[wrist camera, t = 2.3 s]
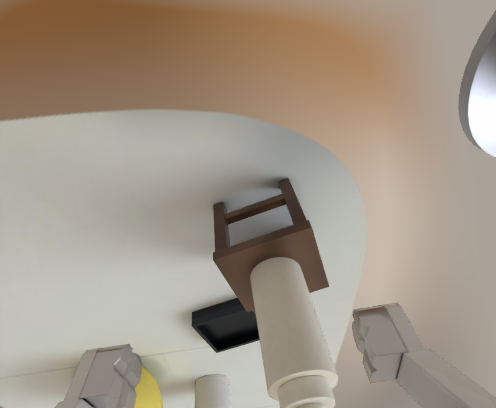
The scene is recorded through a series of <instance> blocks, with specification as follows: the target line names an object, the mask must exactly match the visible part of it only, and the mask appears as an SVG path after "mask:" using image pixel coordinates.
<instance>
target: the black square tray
mask: <svg viewBox="0 0 496 408" xmlns="http://www.w3.org/2000/svg"><path fill="white" fill-rule="evenodd" d="M192 327H193V328H194V329H195V330H196V331H197V332H198V333H199V335H200V336H201V337H202V338H203V339H204V340H205V341H206V342H207V343H208V344H209V345H210V346H211V347H212V349H213V350H214V351H215V352H216V353H218V352H221V351H225V350H228V349H231V348H235V347H238V346H241V345H245V344H248V343H251V342H255V341H258V340H260V338H259V332H258V325H257V319H256V313H255V310H253V311H250V312H247V311H246V309H245V308H244V306H243V305H242V303H241V302H240V300H239V299H238V298H236V299H233V300H230V301H227V302H224V303H221V304H217V305H214V306H211V307H208V308H205V309H202V310H199V311H196V312H192Z"/></svg>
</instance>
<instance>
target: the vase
mask: <svg viewBox="0 0 496 408" xmlns="http://www.w3.org/2000/svg"><path fill="white" fill-rule="evenodd" d="M134 389H135V391H136V394H137V397H136V401H135V405H134V408H163V402H162V398H161V394H160V390H159V387H158V383H157V382H156V380H155V379H154V377H153V376H152V374H151V373H150V372H149V371H148V370H146V369H145V368H144V367H142V374H141V379H140V382H139V383H138V384H137V386H136V387H135V388H134Z"/></svg>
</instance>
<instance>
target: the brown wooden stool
mask: <svg viewBox="0 0 496 408" xmlns="http://www.w3.org/2000/svg"><path fill="white" fill-rule="evenodd" d="M279 185H280V188H281V191H282V194H281V195H278V196H275V197H272V198H269V199H266V200H264V201H261V202H258V203H255V204H252V205H250V206H247V207H244V208H241V209H238V210H235V211H233V212H230V213H227V209H226V207H225V205H224V203H223V202H220V203H218V204H215V205H213V209H214V233H215V252H213V261H214V262H215V264H216V265H217V267H218V268H219V270H220V271H221V273H222V274H223V276H224V277H225V279H226V280H227V282H228V283H229V285H230V287H231V288H232V290H233V291H234V293H235V294H236V296H237V297H238V299H239V300H240V302H241V303H242V305H243V306H244V308H245V309H246V311H247V312H250V311H253V310H255V306H254V300H253V293H252V287H251V280H250V275H251V272H252V270H253V269H254V268H255V267H256V266H257V265H258V264H259V263H261V262H263V261H265V260H267V259H270V258H275V257H286V258H290V259H293V260H295V261H296V262H297V263H298V264H299V265H300V267H301V270H302V273H303V276H304V279H305V282H306V285H307V287H308V290H309V293H311V292H314V291H317V290H320V289H323V288H327V287H329V284H328V281H327V277H326V274H325V270H324V267H323V264H322V260H321V257H320V254H319V250H318V247H317V243H316V240H315V237H314V233H313V230H312V227H311V224H310V222H309V220H306V218H305V216H304V213H303V211H302V209H301V206H300V204H299V202H298V199H297V197H296V195H295V192H294V190H293V188H292V185H291V183H290V181H289V179H288V178H287V179H285V180H282V181H279ZM285 204H286V205H287V207H288V210H289V213H290V215H291V218H292V221H293V224H294V225H292V226H289V227H286V228H283V229H280V230H277V231H275V232H272V233H269V234H266V235H263V236H260V237H257V238H254V239H251V240H248V241H245V242H242V243H239V244H236V245H233V246H231V247H230V238H229V228H228V224H231V223H234V222H237V221H239V220H242V219H245V218H248V217H251V216H254V215H257V214H259V213H262V212H265V211H268V210H271V209H274V208H277V207H279V206H282V205H285Z"/></svg>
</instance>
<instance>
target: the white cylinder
mask: <svg viewBox="0 0 496 408" xmlns="http://www.w3.org/2000/svg"><path fill="white" fill-rule="evenodd" d="M195 408H231V405H230V389H229V379H228V378H227V377H226V376H223V375H208V376H204V377H201V378H199V379H198V380H197V381H196V382H195Z"/></svg>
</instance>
